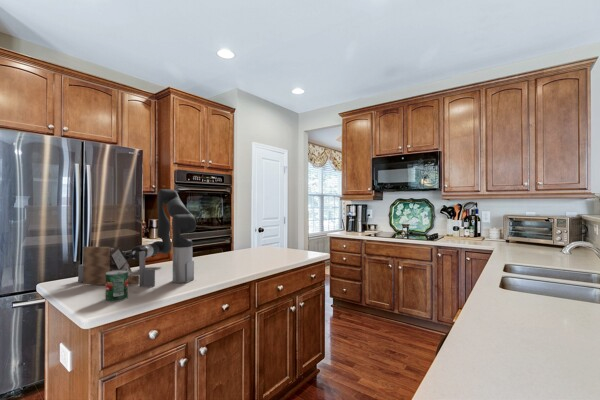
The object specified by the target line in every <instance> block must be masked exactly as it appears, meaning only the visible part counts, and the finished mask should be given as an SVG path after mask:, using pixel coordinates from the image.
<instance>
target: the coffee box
mask: <svg viewBox="0 0 600 400" xmlns="http://www.w3.org/2000/svg"><path fill="white" fill-rule="evenodd" d="M109 247H110V271H114V270H128V275H131V274H132V273H133V271H132V268H131V267H130V264H129V263H128V261H127V260H126V258H125V256H124V254H123V252H122V251H123V250H122V248H121V247H120V246H118V247H117V246H109Z"/></svg>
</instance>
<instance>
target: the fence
mask: <svg viewBox="0 0 600 400" xmlns="http://www.w3.org/2000/svg"><path fill="white" fill-rule="evenodd" d="M138 261H139V262H138V263H139V266H138V267H139V271H138V274H139V284H138V286H139V287H148V288H149V287H150V288H154V287H155V286H156V269H155V268H146V258H145V251H141V252H139V260H138ZM77 266H78V267H77V282H82V283H83V264H78V265H77Z"/></svg>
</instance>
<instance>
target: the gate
mask: <svg viewBox="0 0 600 400" xmlns="http://www.w3.org/2000/svg"><path fill="white" fill-rule="evenodd" d="M110 247H111V246H83V256H82V257H83V260H82V265H83V282H82V284H83V285H95V286H96V285H103V286H106V272H109V271H110ZM128 286H139V275H136V274H135V275H133V274H132V275H131V274H130V275H128Z"/></svg>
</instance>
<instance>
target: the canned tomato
mask: <svg viewBox="0 0 600 400" xmlns="http://www.w3.org/2000/svg"><path fill="white" fill-rule="evenodd" d="M104 290H105V294H104V295H105V297H104V298H105V299H104V300H105V302H106V303H116V302H121V301H124V300H126V299H128V298H129V295H128V294H129V285H128V270H114V271H109V272H106V285H105V289H104Z"/></svg>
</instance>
